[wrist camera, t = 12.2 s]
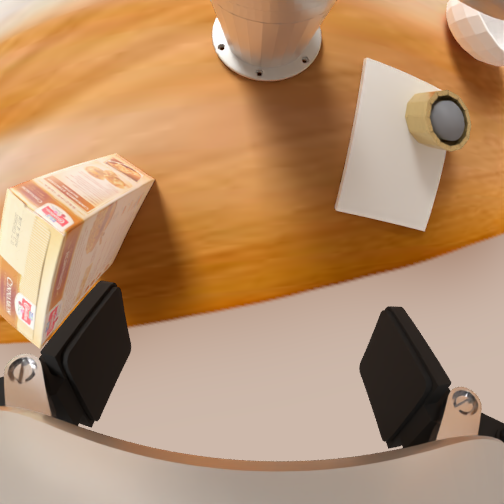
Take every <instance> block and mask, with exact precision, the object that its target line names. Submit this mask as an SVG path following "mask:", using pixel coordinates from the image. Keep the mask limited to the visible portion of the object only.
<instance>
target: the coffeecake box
mask: <svg viewBox="0 0 504 504" xmlns="http://www.w3.org/2000/svg"><path fill="white" fill-rule="evenodd" d="M154 181H155V179H153V178H152V177H150V176H149V175H147V174H146V173H144V172H143V171H141V170H140V169H138V168H137V167H135V166H134V165H132V164H131V163H129V162H128V161H127V160H125V159H124V158H122V157H121V156H119V155H118V154H116V153H115V154H113V155H109V156H105V157H101V158H98V159H94V160H90V161H87V162H83V163H80V164H77V165H73V166H70V167H67V168H64V169H61V170H58V171H55V172H52V173H49V174H46V175H43V176H40V177H37V178H35V179H32V180H29V181H27V182H24V183H21V184H19V185H16V186H14V187H11V188H8V189H7V193H6V198H5V203H4V209H3V215H2V222H1V230H0V315H1V316H2V317H3V318H4V319H6V320H7V322H9V323H10V324H11V325H12V326H13V327H14V328H16V329H17V330H18V331H19V332H20V333H22V334H23V335H24V336H25V337H26V338H27V339H28V340H30V341H31V342H32V343H33V344H35V345H36V346H37V347H38V348H42V346H43V345H44V343H45V342H46V341H47V340H48V338H49V337H50V336H51V334H52V333H53V332H54V331H55V329H56V328H57V327H58V326H59V324H60V323H61V322H62V321H63V319H64V318H65V317H66V316H67V315H68V313H69V312H70V311H71V310H72V309H73V307H74V306H75V305H76V304H77V303H78V301H79V300H80V299H81V298H82V297H83V296H84V295H85V293H86V292H87V291H88V290H89V289H90V288H91V286H92V285H93V284H94V283H95V282H96V281H97V280H98V279H99V278H100V276H101V275H102V274H103V273H104V272H105V271H106V270H107V269H108V268H109V267H110V266H111V265H112V263H113V261H114V259H115V257H116V255H117V253H118V251H119V249H120V247H121V245H122V243H123V240H124V238H125V236H126V234H127V232H128V230H129V228H130V226H131V224H132V222H133V220H134V218H135V216H136V214H137V212H138V210H139V209H140V207H141V205H142V203H143V201H144V199H145V197H146V195H147V194H148V192H149V190H150V188H151V186H152V184H153V183H154Z"/></svg>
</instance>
